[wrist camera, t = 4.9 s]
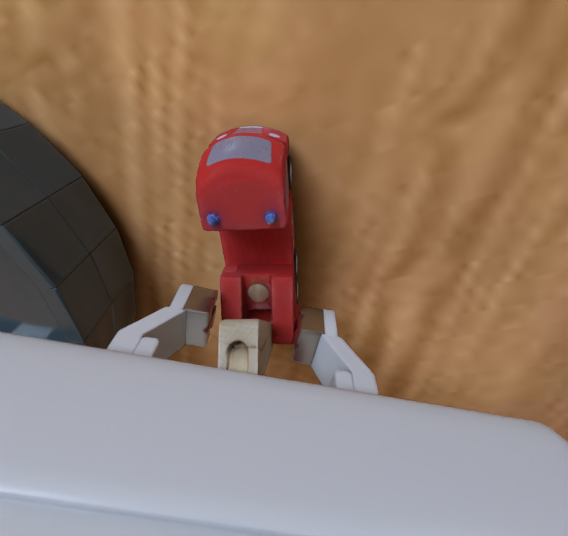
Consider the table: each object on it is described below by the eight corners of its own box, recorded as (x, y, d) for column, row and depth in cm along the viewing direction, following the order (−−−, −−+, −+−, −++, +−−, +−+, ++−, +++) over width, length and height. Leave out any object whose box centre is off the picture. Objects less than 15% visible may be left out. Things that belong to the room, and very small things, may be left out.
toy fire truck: (291, 118, 14) (276, 223, 6) (302, 357, 22) (301, 547, 14) (210, 123, 14) (91, 229, 6) (248, 357, 22) (215, 544, 14)
